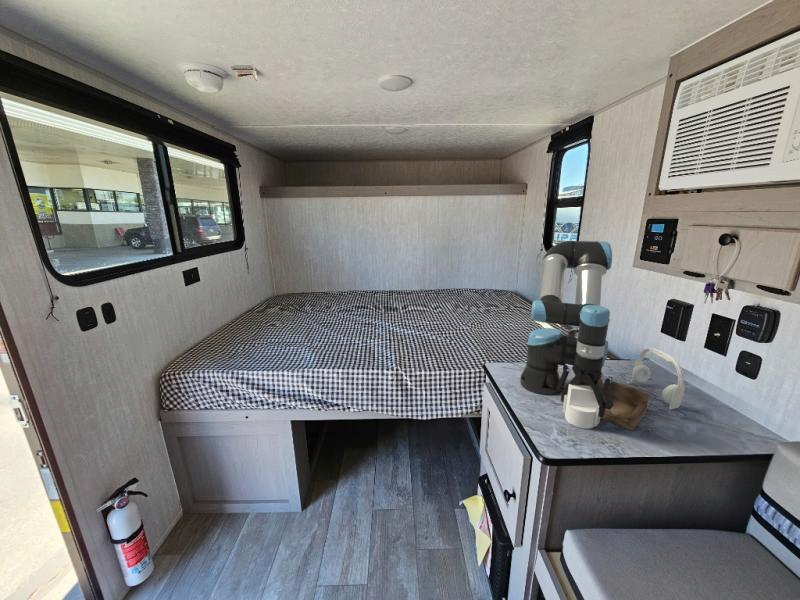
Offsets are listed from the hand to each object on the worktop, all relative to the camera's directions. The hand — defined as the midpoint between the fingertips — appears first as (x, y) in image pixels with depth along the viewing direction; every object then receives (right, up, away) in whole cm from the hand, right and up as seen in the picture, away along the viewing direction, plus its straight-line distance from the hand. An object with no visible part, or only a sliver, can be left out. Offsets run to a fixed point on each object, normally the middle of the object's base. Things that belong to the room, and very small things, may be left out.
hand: (580, 417), depth 104 cm
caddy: (+13, +1, +8) cm, 15 cm away
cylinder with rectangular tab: (0, -1, 0) cm, 1 cm away
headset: (+36, +3, +14) cm, 39 cm away
